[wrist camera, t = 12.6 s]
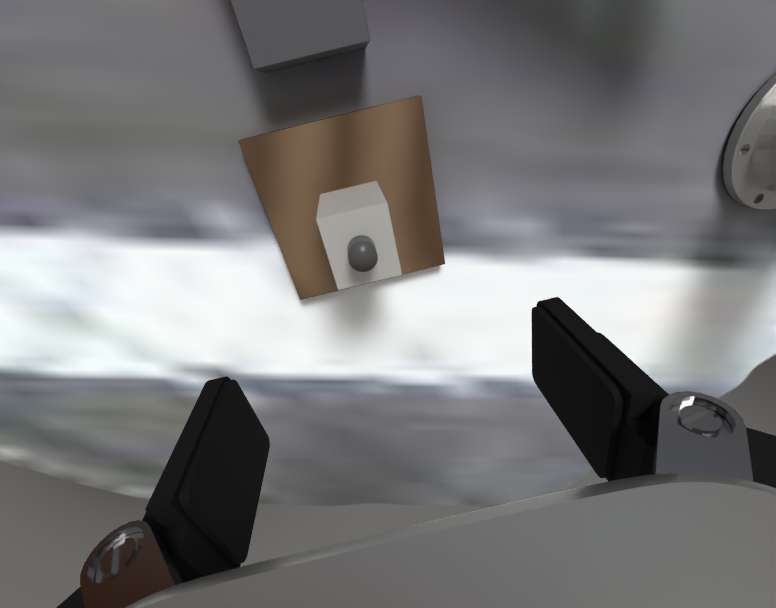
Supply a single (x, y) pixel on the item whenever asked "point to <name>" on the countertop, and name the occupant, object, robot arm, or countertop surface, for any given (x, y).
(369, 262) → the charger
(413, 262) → the walnut board
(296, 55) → the power strip
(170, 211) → the countertop surface
